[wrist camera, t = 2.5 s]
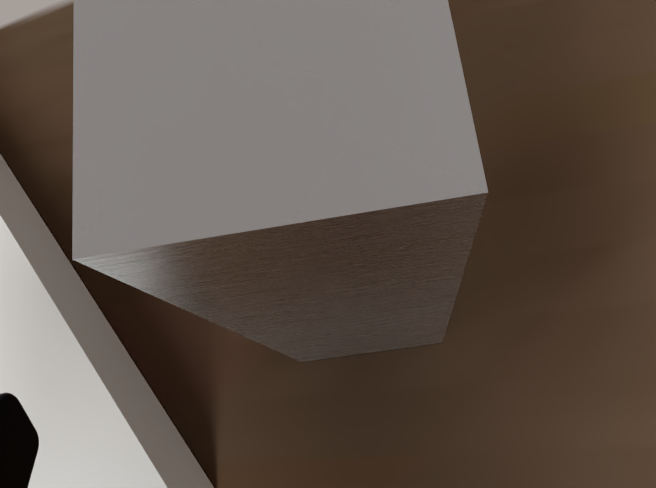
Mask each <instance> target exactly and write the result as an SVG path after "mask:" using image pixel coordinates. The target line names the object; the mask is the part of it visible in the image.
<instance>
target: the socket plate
mask: <svg viewBox="0 0 656 488" xmlns="http://www.w3.org/2000/svg"><path fill="white" fill-rule="evenodd" d="M1 393H11V394H13V395H14V396H16V397H17V398H18V400H19V401H20V403H21V405H22V407H23V408H24V410H25V412H26V413H27V415H28V417H29V419H30V420H31V422H32V424H33V425H34V427H35V429H36V431H37V433H38V437H39V448H38V453H37V456H36V460H35V463H34V467H33V470H32V474H31V478H30V481H29V485H28V488H214V487H213V485H212V484H211V482H210V481H209V479H208V477H207V476H206V474H205V473H204V471H203V470H202V468H201V466H200V465H199V463H198V462H197V460H196V459H195V457H194V456H193V454H192V452H191V451H190V449H189V448H188V446H187V445H186V443H185V441H184V440H183V438H182V437H181V435H180V434H179V432H178V431H177V429H176V427H175V426H174V424H173V423H172V421H171V420H170V418H169V416H168V415H167V413H166V412H165V410H164V409H163V407H162V406H161V404H160V402H159V401H158V399H157V398H156V396H155V395H154V393H153V391H152V390H151V388H150V387H149V385H148V384H147V382H146V381H145V379H144V377H143V376H142V374H141V373H140V371H139V370H138V368H137V366H136V365H135V363H134V362H133V360H132V359H131V357H130V356H129V354H128V352H127V351H126V349H125V348H124V346H123V345H122V343H121V341H120V340H119V338H118V337H117V335H116V334H115V332H114V331H113V329H112V327H111V326H110V324H109V323H108V321H107V320H106V318H105V316H104V315H103V313H102V312H101V310H100V309H99V307H98V306H97V304H96V302H95V301H94V299H93V298H92V296H91V295H90V293H89V292H88V290H87V288H86V287H85V285H84V284H83V282H82V281H81V279H80V277H79V276H78V274H77V273H76V271H75V270H74V268H73V267H72V265H71V263H70V262H69V260H68V259H67V257H66V256H65V254H64V252H63V251H62V249H61V248H60V246H59V245H58V243H57V242H56V240H55V238H54V237H53V235H52V234H51V232H50V231H49V229H48V227H47V226H46V224H45V223H44V221H43V220H42V218H41V217H40V215H39V213H38V212H37V210H36V209H35V207H34V206H33V204H32V202H31V201H30V199H29V198H28V196H27V195H26V193H25V192H24V190H23V188H22V187H21V185H20V184H19V182H18V181H17V179H16V177H15V176H14V174H13V173H12V171H11V170H10V168H9V167H8V165H7V163H6V162H5V160H4V159H3V157H2V156H1V154H0V394H1Z"/></svg>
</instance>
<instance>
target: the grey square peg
mask: <svg viewBox="0 0 656 488" xmlns="http://www.w3.org/2000/svg"><path fill="white" fill-rule="evenodd" d="M487 195H488V189H487V184H486V179H485V174H484V170H483V165H482V160H481V155H480V151H479V146H478V141H477V136H476V132H475V127H474V122H473V117H472V113H471V108H470V103H469V98H468V94H467V89H466V84H465V79H464V75H463V70H462V65H461V60H460V56H459V51H458V46H457V41H456V37H455V32H454V27H453V22H452V18H451V13H450V8H449V3H448V0H74V50H73V224H72V260H74V261H77V262H79V263H81V264H83V265H86V266H88V267H90V268H92V269H95V270H97V271H99V272H101V273H103V274H106V275H108V276H110V277H112V278H115V279H117V280H119V281H121V282H124V283H126V284H128V285H130V286H132V287H135V288H137V289H139V290H141V291H144V292H146V293H148V294H150V295H153V296H155V297H157V298H159V299H161V300H164V301H166V302H168V303H170V304H173V305H175V306H177V307H179V308H182V309H184V310H186V311H188V312H190V313H193V314H195V315H197V316H199V317H202V318H204V319H206V320H208V321H210V322H213V323H215V324H217V325H219V326H222V327H224V328H226V329H228V330H231V331H233V332H235V333H237V334H239V335H242V336H244V337H246V338H248V339H251V340H253V341H255V342H257V343H260V344H262V345H264V346H266V347H268V348H271V349H273V350H275V351H277V352H280V353H282V354H284V355H286V356H289V357H291V358H293V359H295V360H297V361H300V362H306V361H313V360H320V359H328V358H335V357H342V356H350V355H357V354H364V353H372V352H379V351H386V350H394V349H401V348H408V347H416V346H423V345H430V344H438V343H442V341H443V338H444V335H445V332H446V328H447V325H448V322H449V319H450V315H451V312H452V309H453V306H454V302H455V299H456V296H457V293H458V289H459V286H460V283H461V280H462V276H463V273H464V270H465V267H466V263H467V260H468V257H469V254H470V250H471V247H472V244H473V241H474V237H475V234H476V231H477V228H478V224H479V221H480V218H481V214H482V211H483V208H484V205H485V201H486V198H487Z"/></svg>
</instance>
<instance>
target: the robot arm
mask: <svg viewBox="0 0 656 488" xmlns="http://www.w3.org/2000/svg"><path fill="white" fill-rule="evenodd" d="M38 448H39V437H38V433H37V431H36V429H35V427H34V425H33V424H32V422H31V420H30V419H29V417H28V415H27V413H26V412H25V410H24V408H23V407H22V405H21V403H20V401H19V400H18V398H17V397H16V396H14V395H13V394H11V393H1V394H0V488H28V485H29V481H30V478H31V474H32V470H33V467H34V463H35V460H36V456H37V453H38Z"/></svg>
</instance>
